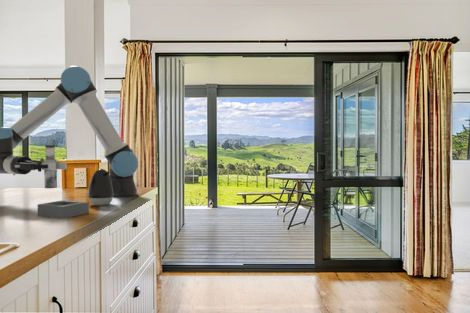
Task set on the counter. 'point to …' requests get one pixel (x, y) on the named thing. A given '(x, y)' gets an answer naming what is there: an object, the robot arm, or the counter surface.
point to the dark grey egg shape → (100, 188)
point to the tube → (50, 175)
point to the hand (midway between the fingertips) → (60, 166)
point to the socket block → (63, 209)
